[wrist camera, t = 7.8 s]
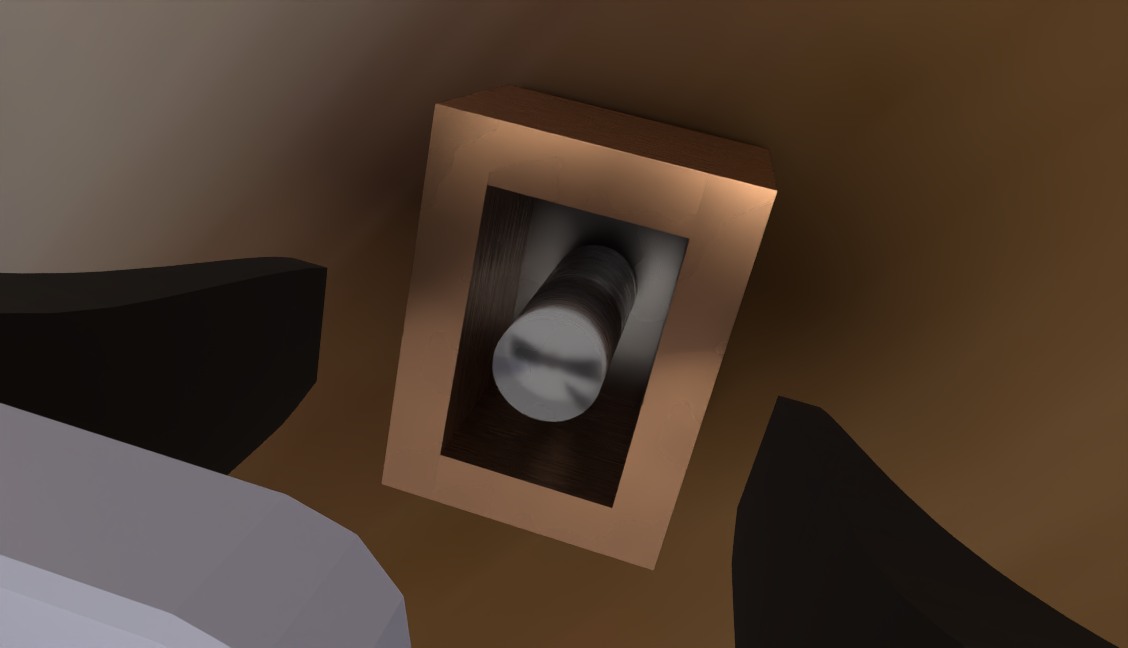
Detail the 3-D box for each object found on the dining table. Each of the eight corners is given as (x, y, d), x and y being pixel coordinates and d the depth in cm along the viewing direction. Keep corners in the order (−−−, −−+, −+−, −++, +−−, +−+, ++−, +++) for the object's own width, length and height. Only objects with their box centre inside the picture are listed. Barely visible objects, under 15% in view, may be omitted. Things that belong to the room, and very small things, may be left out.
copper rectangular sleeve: (672, 456, 18) (653, 570, 14) (454, 390, 18) (381, 484, 14) (769, 148, 15) (777, 190, 11) (508, 84, 15) (435, 103, 12)
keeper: (680, 404, 18) (658, 541, 13) (475, 344, 18) (382, 455, 14) (746, 195, 16) (747, 268, 11) (514, 135, 16) (421, 180, 12)
